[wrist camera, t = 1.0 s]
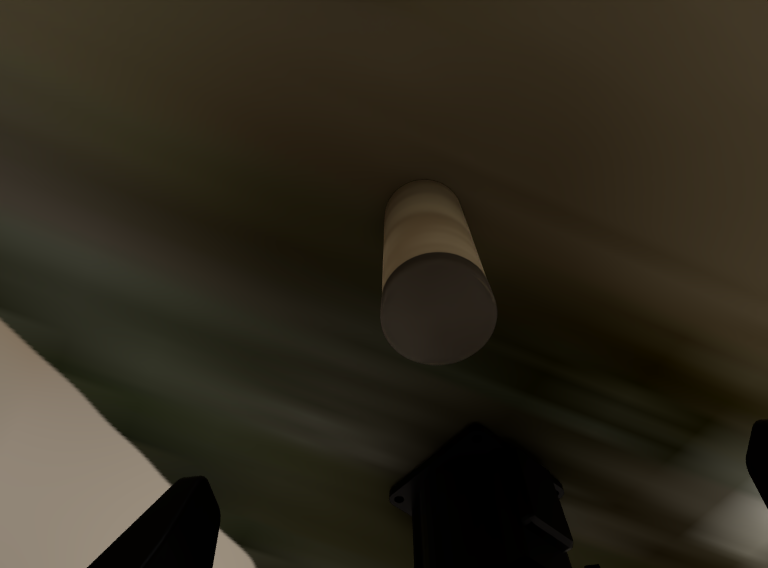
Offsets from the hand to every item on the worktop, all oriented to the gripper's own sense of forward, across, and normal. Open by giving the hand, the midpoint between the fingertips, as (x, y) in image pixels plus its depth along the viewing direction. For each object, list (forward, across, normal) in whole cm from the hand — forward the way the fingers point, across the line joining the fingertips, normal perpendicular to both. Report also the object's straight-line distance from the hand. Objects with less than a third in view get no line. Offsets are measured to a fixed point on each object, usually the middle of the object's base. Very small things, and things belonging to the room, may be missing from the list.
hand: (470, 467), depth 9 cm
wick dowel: (+13, 0, 0) cm, 13 cm away
